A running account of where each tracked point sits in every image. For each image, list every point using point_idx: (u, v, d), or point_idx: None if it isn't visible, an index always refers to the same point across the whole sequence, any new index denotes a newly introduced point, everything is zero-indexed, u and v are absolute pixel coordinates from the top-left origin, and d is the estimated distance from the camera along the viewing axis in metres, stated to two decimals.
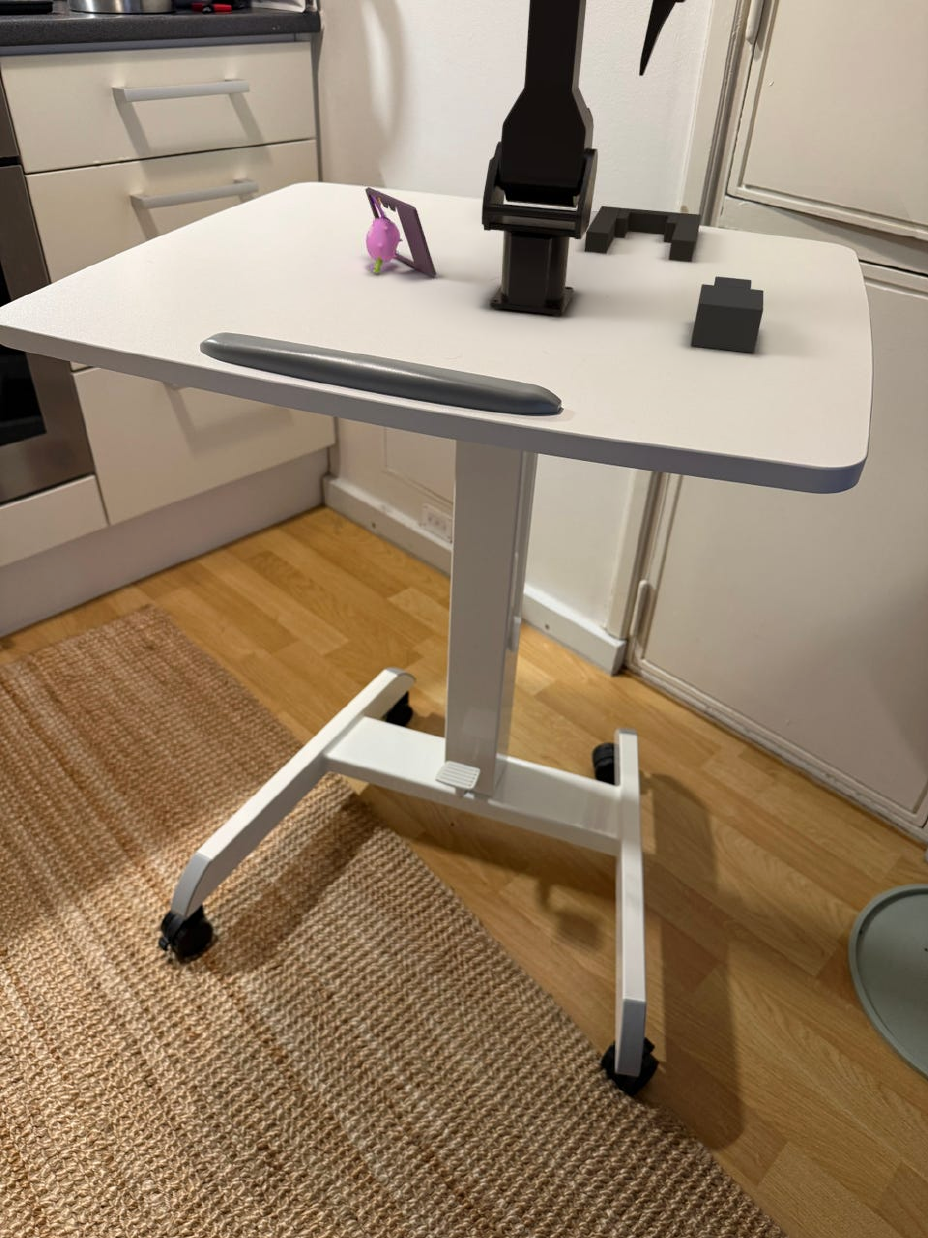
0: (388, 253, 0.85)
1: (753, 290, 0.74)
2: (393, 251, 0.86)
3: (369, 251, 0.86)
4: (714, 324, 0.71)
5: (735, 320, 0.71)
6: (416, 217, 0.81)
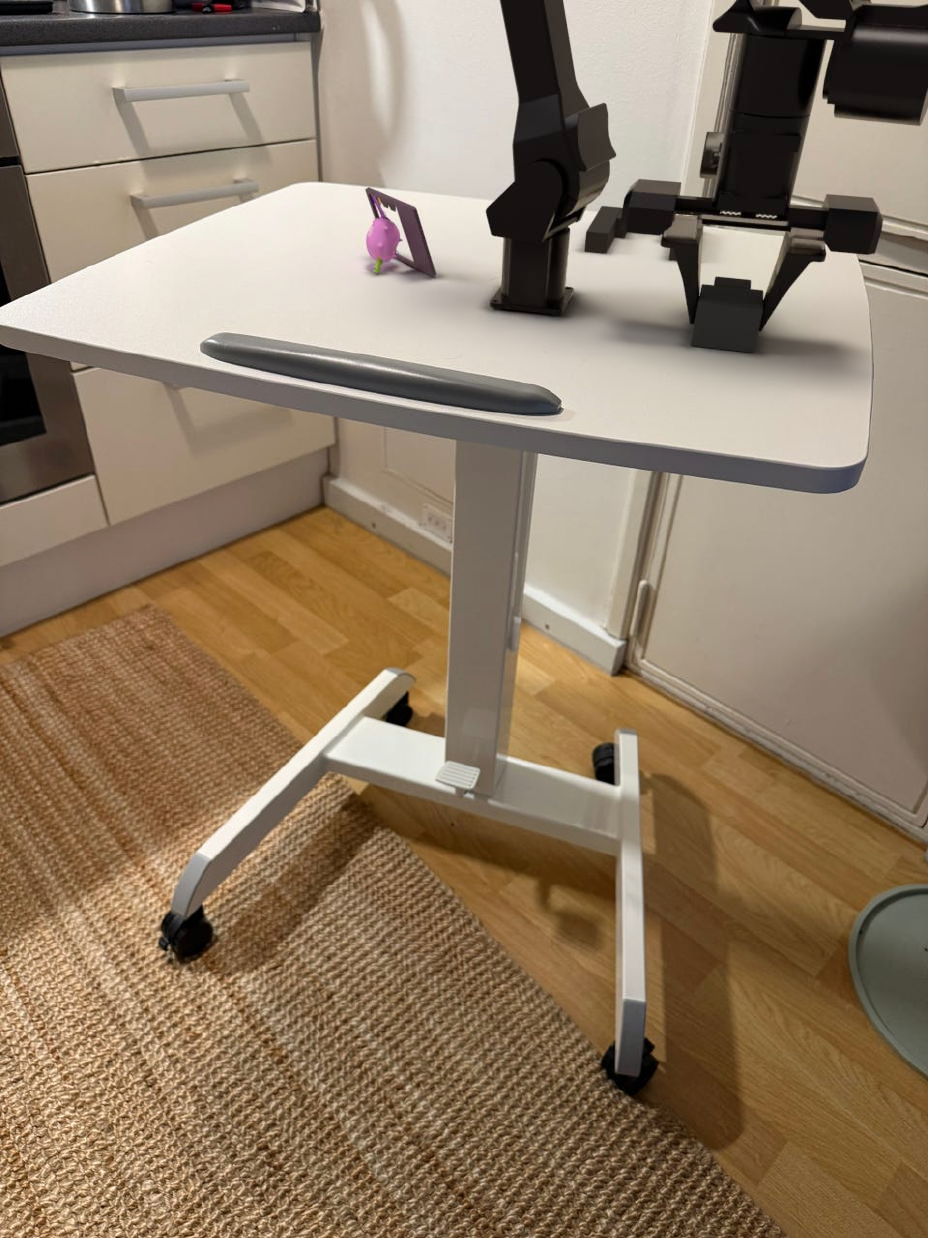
0: (388, 253, 0.85)
1: (753, 290, 0.74)
2: (393, 251, 0.86)
3: (369, 251, 0.86)
4: (714, 324, 0.71)
5: (735, 320, 0.71)
6: (416, 217, 0.81)
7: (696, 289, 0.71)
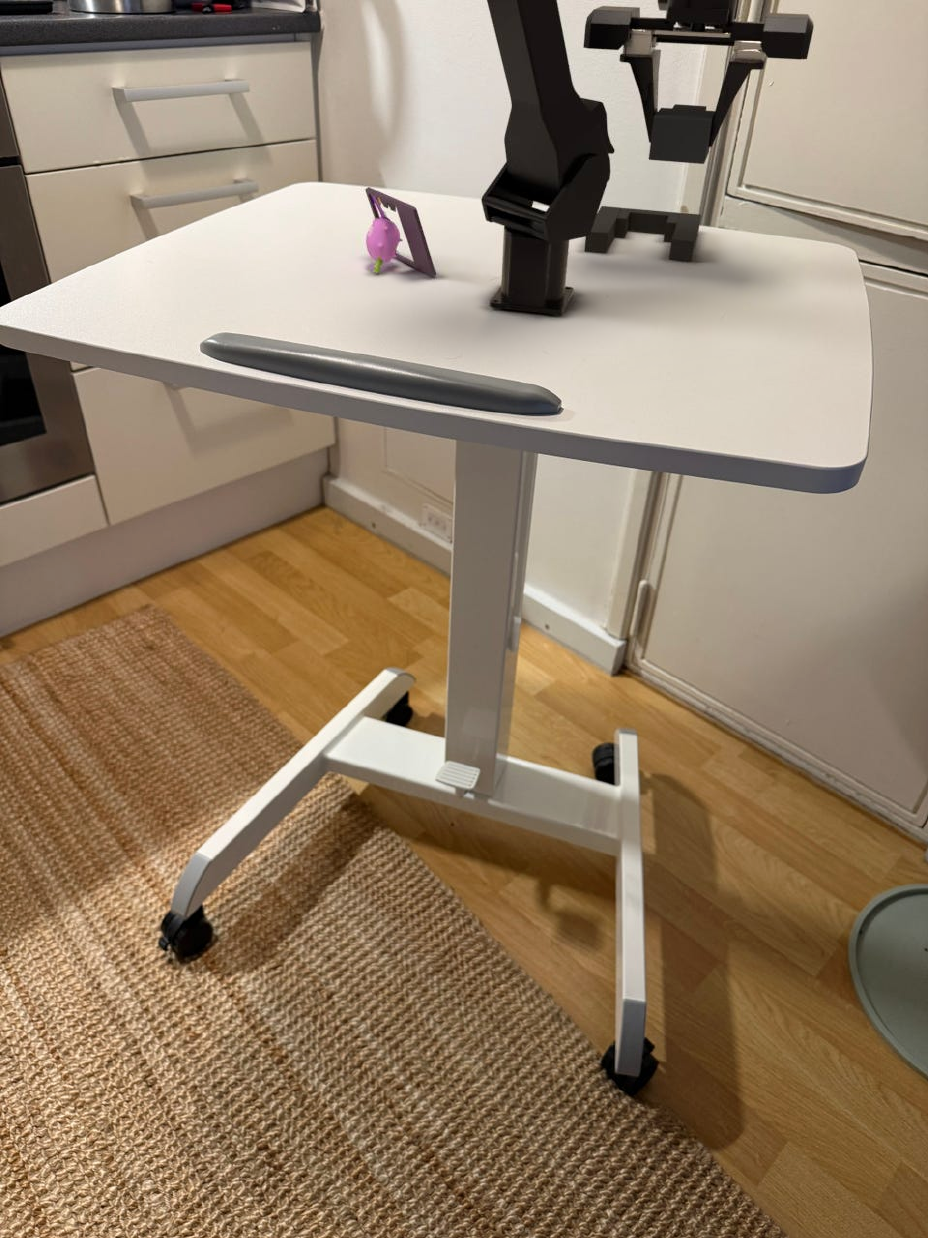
0: (388, 253, 0.85)
1: None
2: (393, 251, 0.86)
3: (369, 251, 0.86)
4: (669, 137, 0.80)
5: (687, 131, 0.79)
6: (416, 217, 0.81)
7: (652, 104, 0.80)
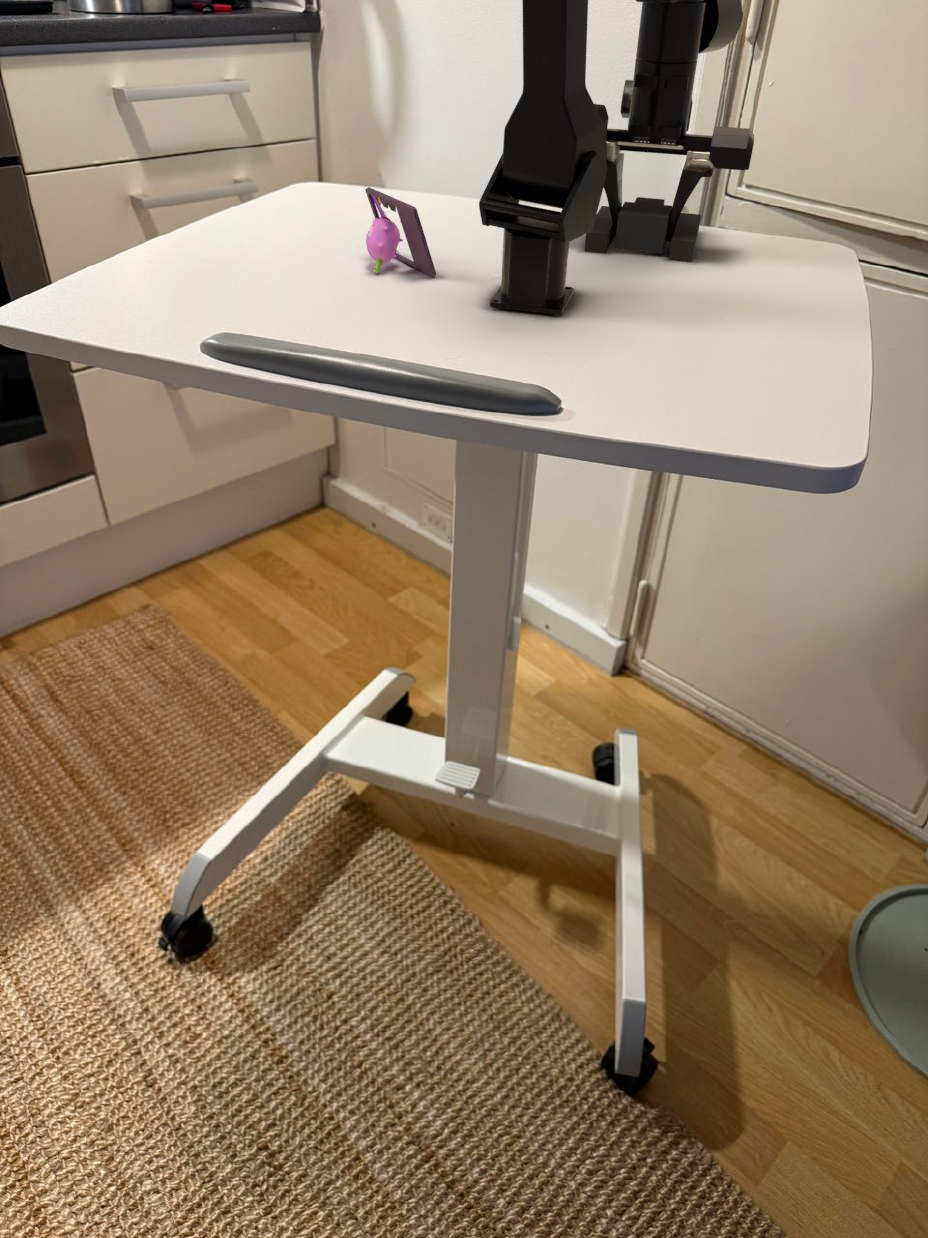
0: (388, 253, 0.85)
1: (664, 205, 0.94)
2: (393, 251, 0.86)
3: (369, 251, 0.86)
4: (632, 230, 0.92)
5: (647, 226, 0.91)
6: (416, 217, 0.81)
7: (617, 202, 0.91)
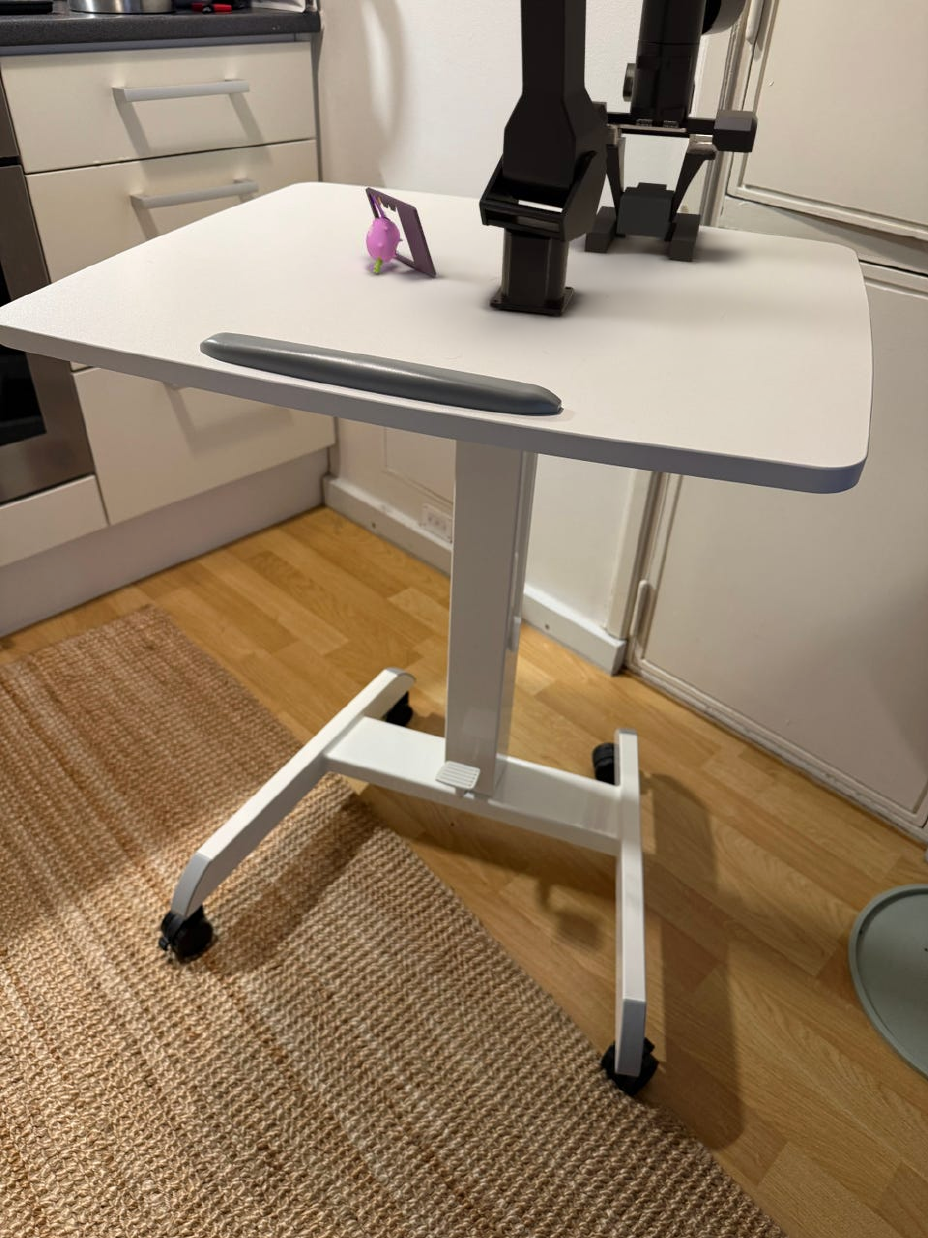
0: (388, 253, 0.85)
1: (666, 190, 0.93)
2: (393, 251, 0.86)
3: (369, 251, 0.86)
4: (634, 215, 0.91)
5: (650, 210, 0.90)
6: (416, 217, 0.81)
7: (619, 186, 0.90)
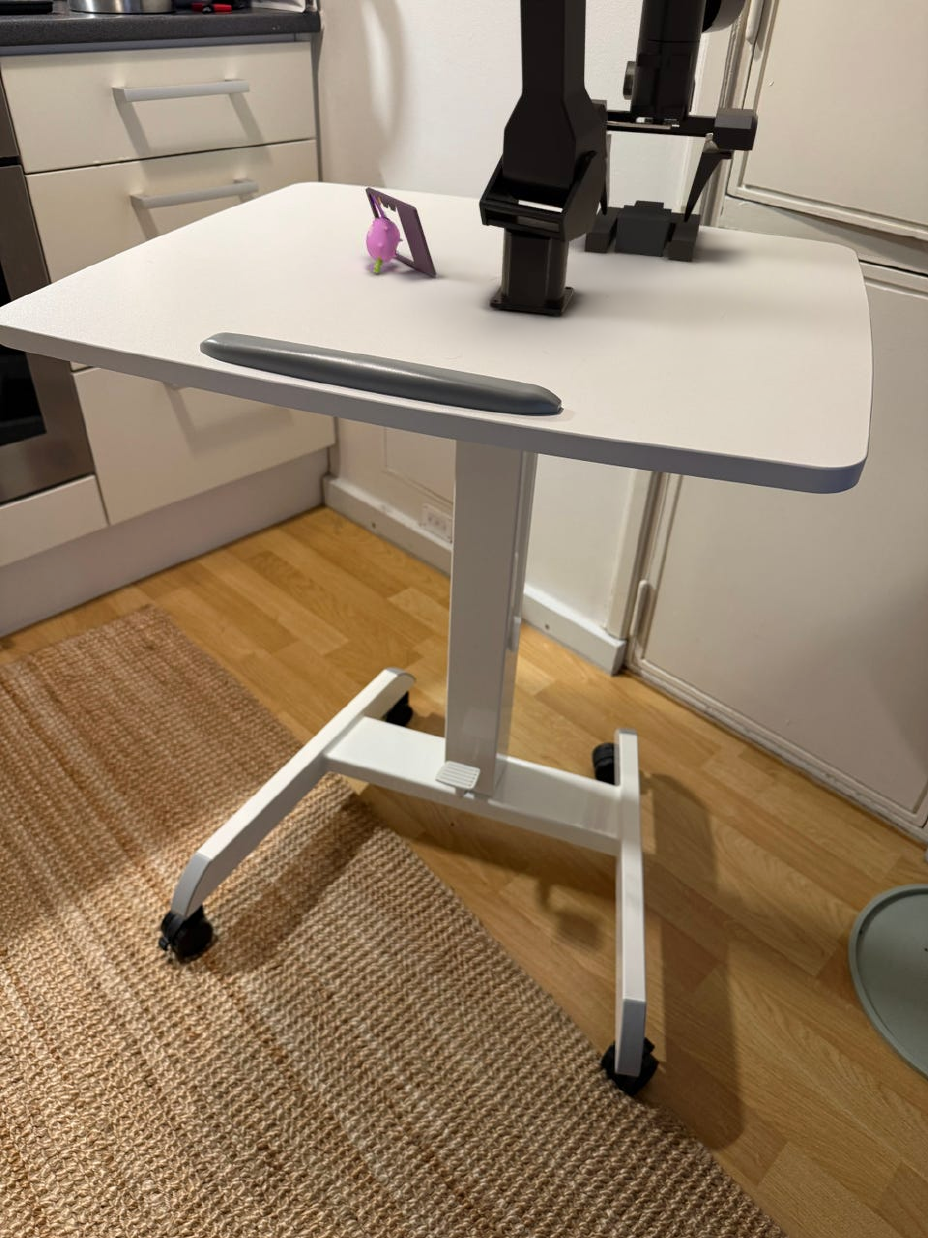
0: (388, 253, 0.85)
1: (663, 208, 0.94)
2: (393, 251, 0.86)
3: (369, 251, 0.86)
4: (631, 233, 0.92)
5: (647, 229, 0.91)
6: (416, 217, 0.81)
7: (604, 183, 0.91)
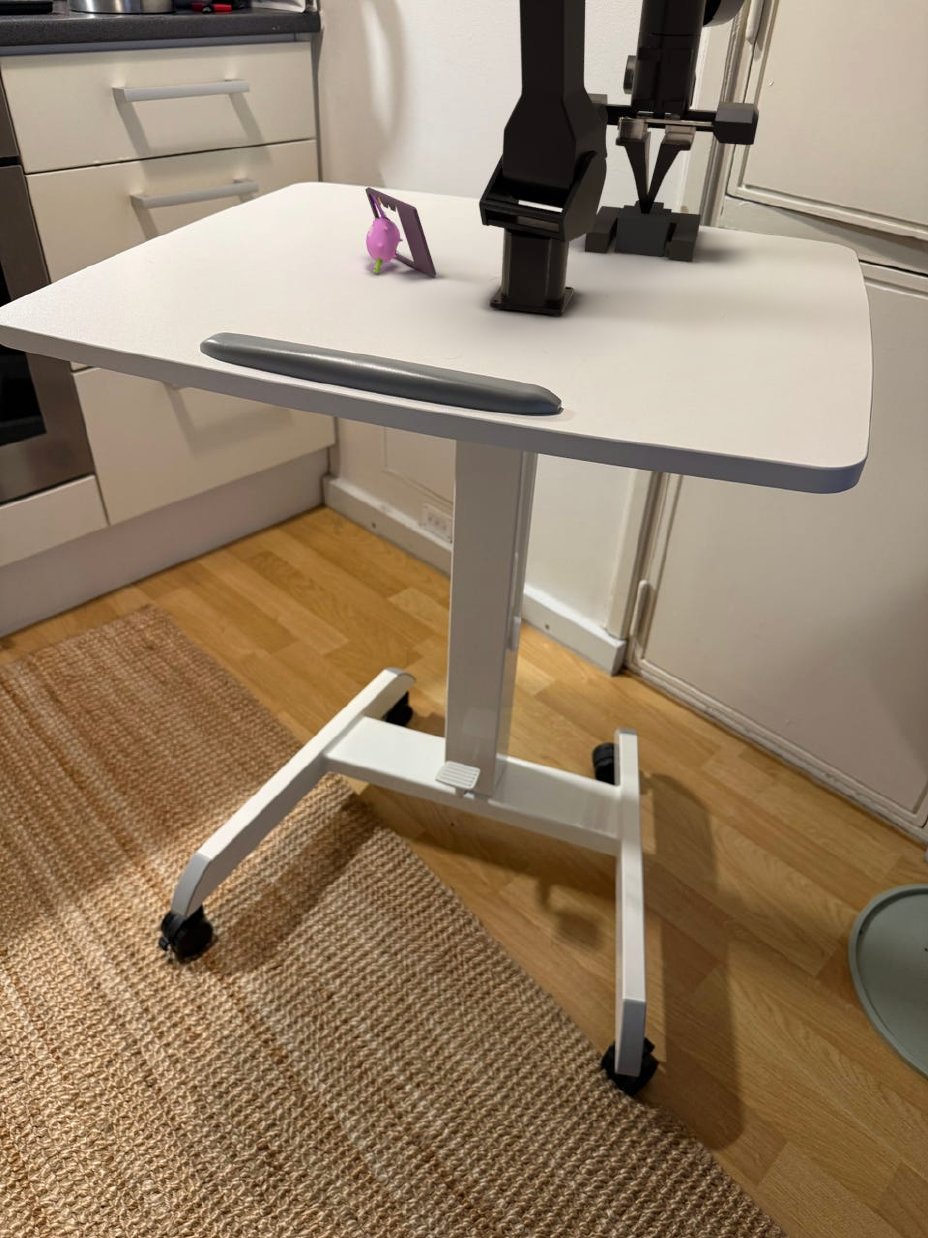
0: (388, 253, 0.86)
1: (663, 208, 0.94)
2: (393, 251, 0.86)
3: (369, 251, 0.86)
4: (631, 233, 0.92)
5: (647, 229, 0.91)
6: (416, 217, 0.81)
7: (644, 181, 0.89)
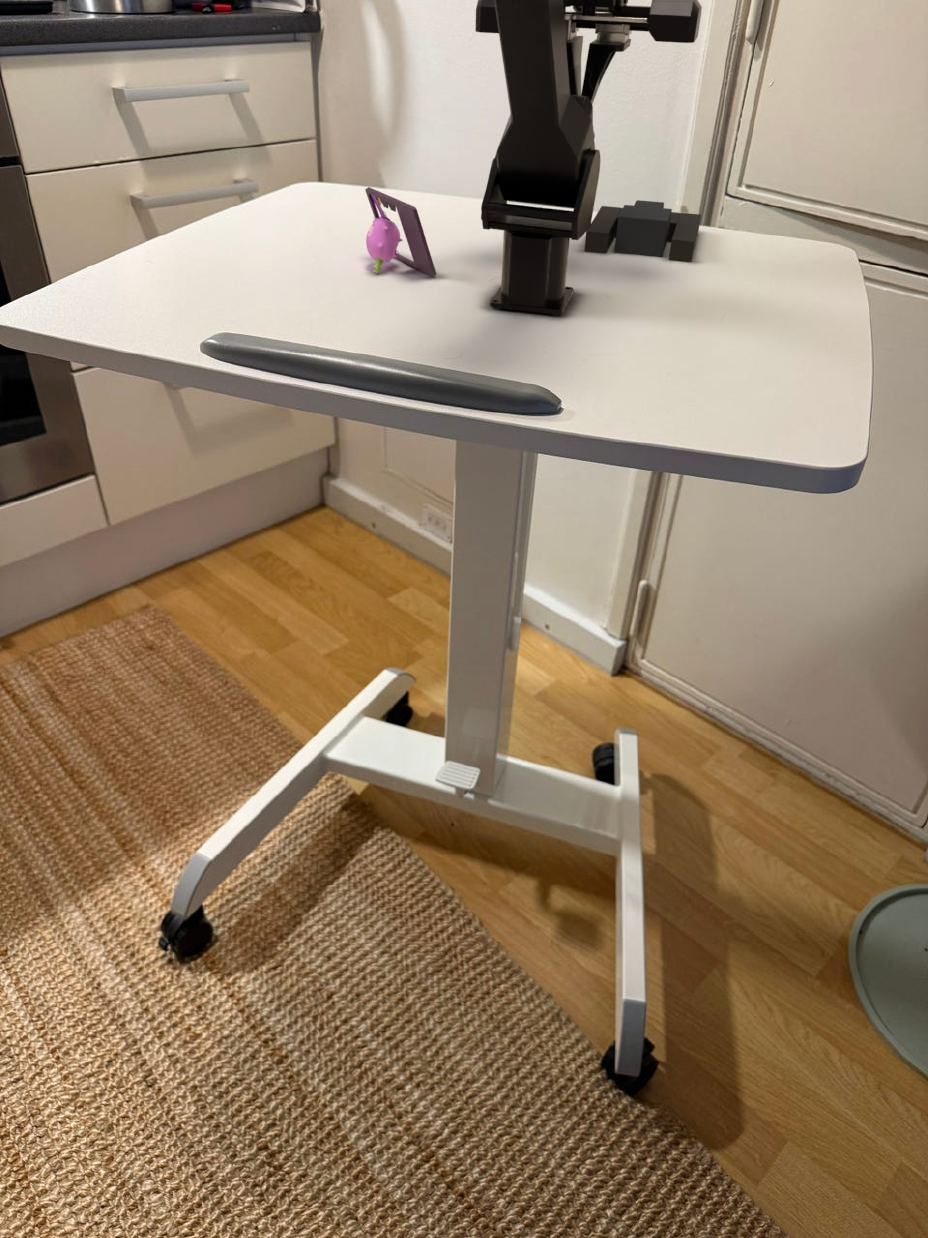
0: (388, 253, 0.86)
1: (663, 208, 0.94)
2: (393, 251, 0.86)
3: (369, 251, 0.86)
4: (631, 233, 0.92)
5: (647, 229, 0.91)
6: (416, 217, 0.81)
7: (574, 90, 0.79)
